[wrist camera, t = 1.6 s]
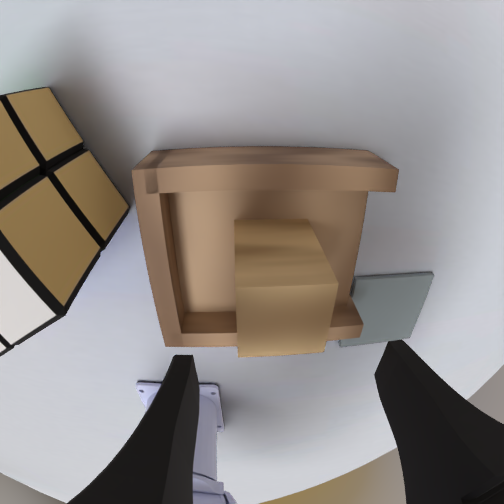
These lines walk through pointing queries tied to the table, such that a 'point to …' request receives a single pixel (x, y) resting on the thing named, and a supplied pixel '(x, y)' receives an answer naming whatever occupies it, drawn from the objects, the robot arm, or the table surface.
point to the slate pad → (388, 306)
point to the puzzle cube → (47, 214)
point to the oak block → (281, 288)
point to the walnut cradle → (245, 208)
